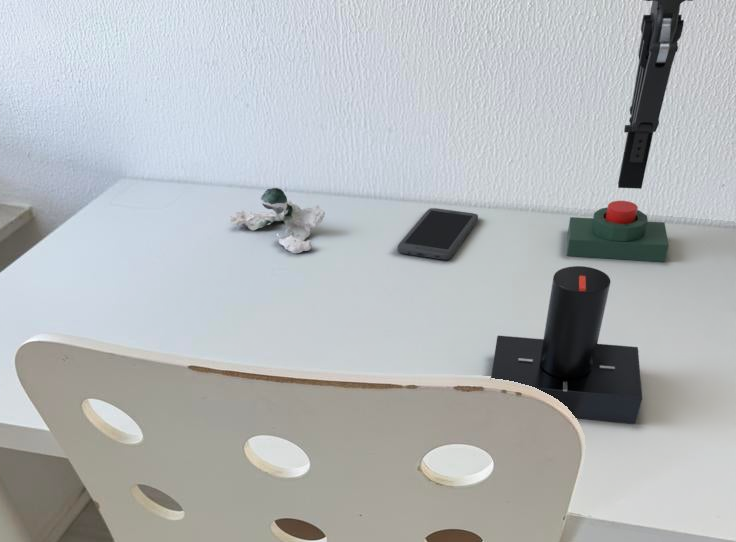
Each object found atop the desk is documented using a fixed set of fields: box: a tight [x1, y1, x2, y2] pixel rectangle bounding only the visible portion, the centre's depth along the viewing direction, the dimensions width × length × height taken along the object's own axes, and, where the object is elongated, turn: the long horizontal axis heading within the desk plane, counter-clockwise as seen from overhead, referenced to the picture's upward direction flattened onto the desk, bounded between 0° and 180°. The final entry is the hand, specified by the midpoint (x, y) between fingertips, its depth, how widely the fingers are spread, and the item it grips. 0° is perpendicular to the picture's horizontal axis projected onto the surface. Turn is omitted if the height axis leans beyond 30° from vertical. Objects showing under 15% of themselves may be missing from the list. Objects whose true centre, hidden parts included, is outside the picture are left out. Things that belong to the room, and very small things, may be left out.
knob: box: [540, 265, 611, 378], centre depth 72 cm, size 5×5×9 cm
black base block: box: [490, 335, 643, 425], centre depth 76 cm, size 14×9×3 cm, turn 78°
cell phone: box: [397, 207, 479, 261], centre depth 104 cm, size 7×14×1 cm, turn 157°
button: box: [606, 200, 639, 224], centre depth 97 cm, size 4×4×2 cm
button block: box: [566, 206, 669, 263], centre depth 99 cm, size 12×7×4 cm, turn 78°
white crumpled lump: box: [228, 187, 326, 254], centre depth 105 cm, size 15×8×8 cm
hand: (629, 185), depth 94 cm, fingers closed
